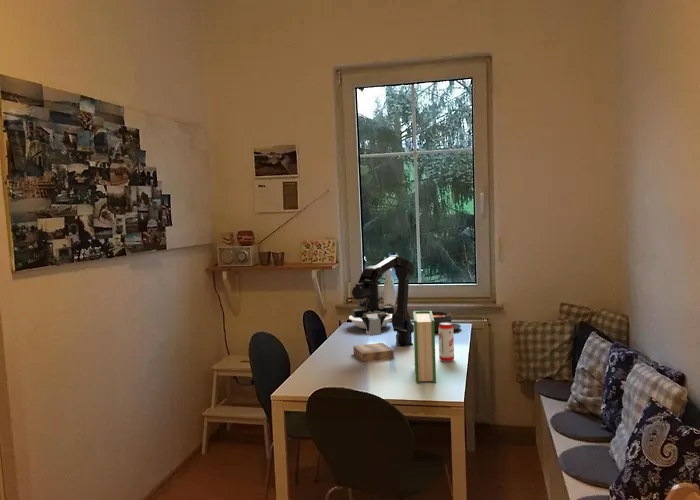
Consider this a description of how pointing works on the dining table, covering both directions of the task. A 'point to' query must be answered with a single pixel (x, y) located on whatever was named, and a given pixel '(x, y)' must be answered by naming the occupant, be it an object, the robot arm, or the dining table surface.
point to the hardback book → (424, 346)
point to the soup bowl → (360, 322)
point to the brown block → (373, 352)
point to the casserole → (442, 319)
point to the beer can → (446, 342)
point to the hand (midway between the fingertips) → (373, 330)
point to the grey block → (374, 326)
